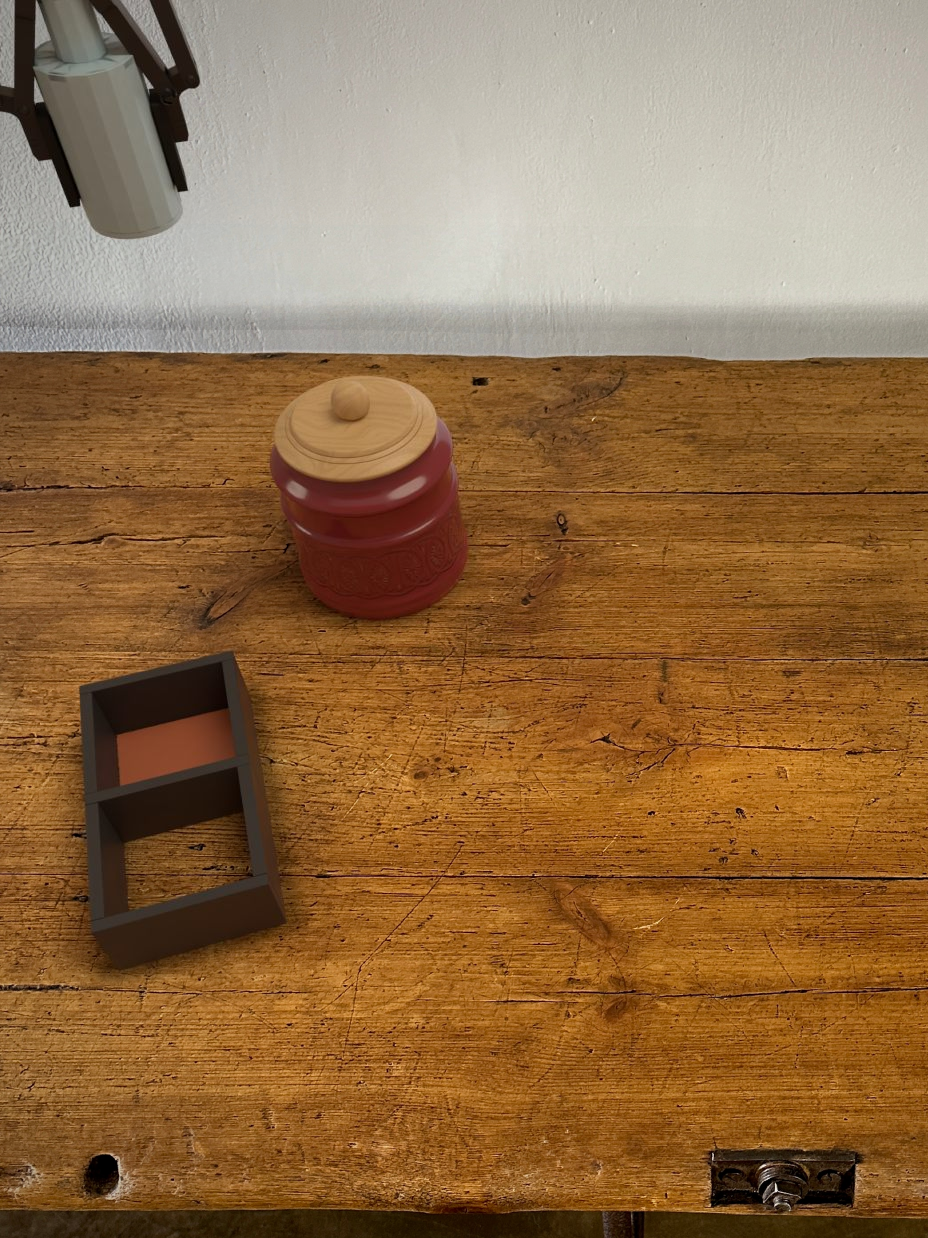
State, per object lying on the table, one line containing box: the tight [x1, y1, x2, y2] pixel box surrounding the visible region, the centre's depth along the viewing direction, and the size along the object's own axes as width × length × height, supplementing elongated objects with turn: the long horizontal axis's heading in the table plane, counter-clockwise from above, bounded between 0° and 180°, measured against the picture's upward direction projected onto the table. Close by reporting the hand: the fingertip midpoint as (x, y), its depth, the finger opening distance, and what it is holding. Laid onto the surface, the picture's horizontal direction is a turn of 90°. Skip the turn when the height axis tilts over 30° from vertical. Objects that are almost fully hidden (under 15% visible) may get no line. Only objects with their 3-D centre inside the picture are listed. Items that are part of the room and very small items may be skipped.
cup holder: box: [78, 650, 288, 972], centre depth 78 cm, size 19×10×6 cm, turn 19°
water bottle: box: [33, 0, 184, 240], centre depth 86 cm, size 7×7×16 cm
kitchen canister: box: [269, 375, 470, 621], centre depth 89 cm, size 13×13×18 cm
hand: (128, 189), depth 90 cm, fingers closed on water bottle, 7 cm apart
